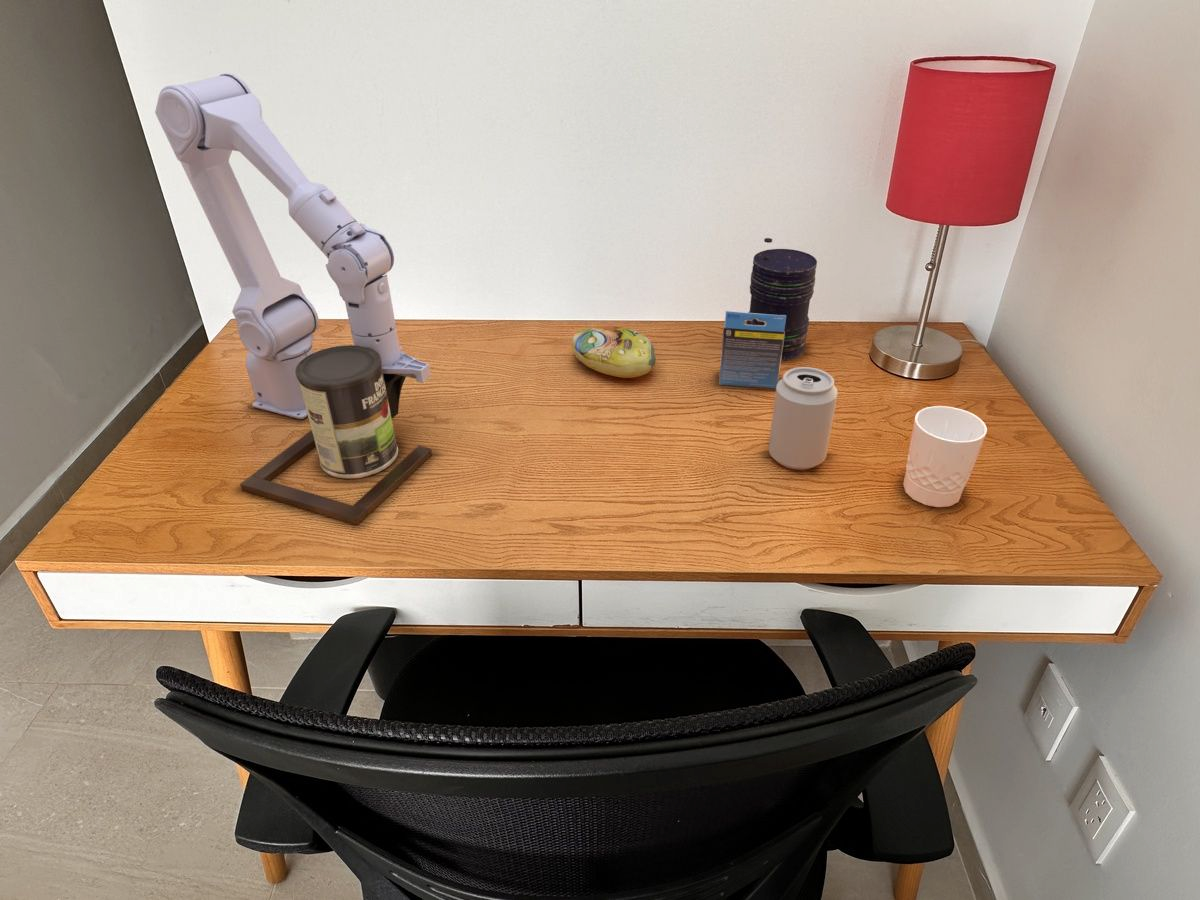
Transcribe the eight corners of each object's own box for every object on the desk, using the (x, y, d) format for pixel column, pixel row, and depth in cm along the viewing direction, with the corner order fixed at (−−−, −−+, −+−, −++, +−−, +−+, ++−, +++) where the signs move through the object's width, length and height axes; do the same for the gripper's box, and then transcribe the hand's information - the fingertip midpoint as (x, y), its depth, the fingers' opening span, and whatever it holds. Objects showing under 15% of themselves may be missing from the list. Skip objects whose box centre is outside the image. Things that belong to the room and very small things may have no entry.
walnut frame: (241, 490, 100) (239, 484, 100) (324, 426, 112) (323, 420, 112) (357, 525, 94) (355, 519, 94) (432, 454, 106) (431, 448, 106)
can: (828, 446, 107) (842, 367, 100) (822, 478, 101) (837, 396, 94) (772, 437, 109) (782, 359, 102) (763, 467, 103) (773, 387, 96)
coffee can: (409, 438, 110) (393, 346, 102) (381, 482, 101) (361, 387, 93) (339, 432, 111) (317, 341, 103) (305, 475, 103) (279, 381, 95)
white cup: (957, 519, 94) (979, 449, 88) (890, 497, 97) (907, 429, 92) (971, 484, 99) (992, 417, 94) (907, 465, 103) (924, 399, 97)
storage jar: (805, 336, 134) (821, 231, 124) (804, 363, 126) (820, 254, 116) (746, 331, 136) (756, 227, 126) (741, 357, 128) (751, 249, 118)
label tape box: (777, 377, 122) (786, 303, 115) (777, 391, 119) (787, 315, 112) (719, 373, 124) (725, 300, 117) (718, 386, 120) (724, 311, 113)
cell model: (625, 382, 117) (558, 320, 122) (619, 411, 123) (556, 351, 128) (676, 345, 121) (609, 287, 126) (668, 376, 128) (605, 319, 133)
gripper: (437, 323, 104) (450, 412, 112) (347, 306, 109) (365, 392, 116) (406, 346, 99) (421, 437, 106) (313, 327, 103) (334, 416, 111)
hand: (390, 415), depth 111 cm, fingers closed, pressing on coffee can
